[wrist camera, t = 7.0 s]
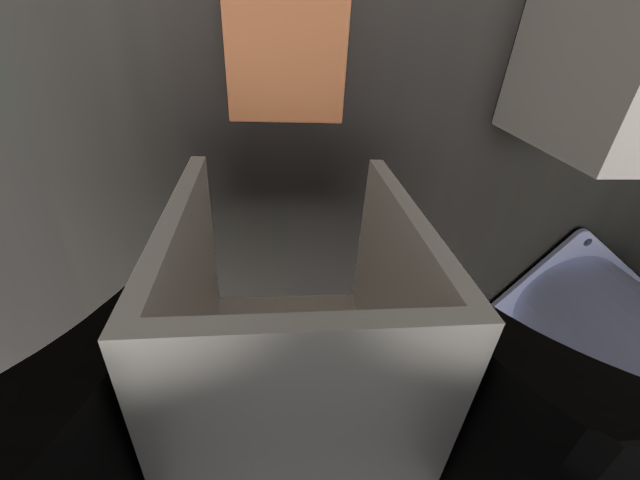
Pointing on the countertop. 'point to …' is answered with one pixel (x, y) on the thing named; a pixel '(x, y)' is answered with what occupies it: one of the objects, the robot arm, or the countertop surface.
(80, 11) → the countertop surface
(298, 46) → the cube
